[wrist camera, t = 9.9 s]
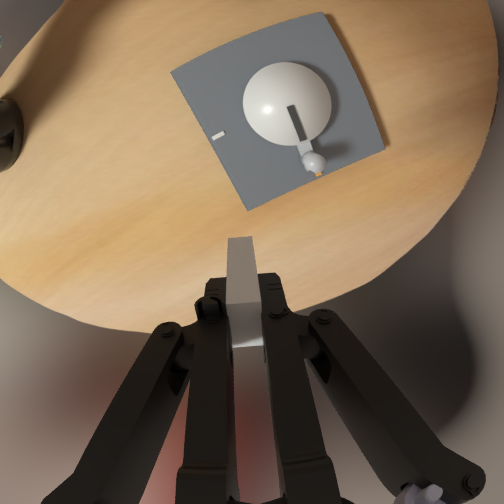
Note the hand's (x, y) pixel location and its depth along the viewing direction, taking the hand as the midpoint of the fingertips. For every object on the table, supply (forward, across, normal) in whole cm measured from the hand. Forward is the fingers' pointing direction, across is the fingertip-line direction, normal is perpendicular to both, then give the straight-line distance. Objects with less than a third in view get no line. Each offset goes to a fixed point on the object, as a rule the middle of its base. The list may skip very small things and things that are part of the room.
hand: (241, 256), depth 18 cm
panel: (+26, +8, +10) cm, 29 cm away
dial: (+23, +8, +9) cm, 26 cm away
